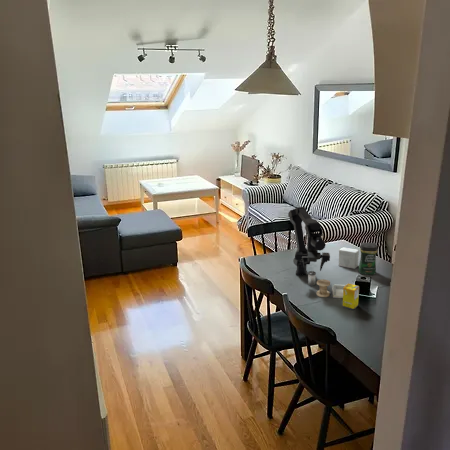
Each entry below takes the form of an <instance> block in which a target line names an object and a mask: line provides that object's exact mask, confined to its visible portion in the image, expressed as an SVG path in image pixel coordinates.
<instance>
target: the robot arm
mask: <svg viewBox="0 0 450 450" xmlns="http://www.w3.org/2000/svg"><path fill="white" fill-rule="evenodd" d="M287 215H288V218H289V221H290V223H291V224H292V226H293V229H294V236H295V241H296V242H295V243H296V251H295V252H294V258H293V259H292V260H293V264H294V266H296V271H295V276H304V277H305V276H307V277H308V270H307V267H308V265H310V264H311V262H313V263H317V261H318V260H321V261H320V266H319V272H321V271H322V269H323V267H324V264H325V263H328V262H330V261H331V260H330V259H331V253H330V252H322V253H321V252H320V251H323V250H325V248H326V246H327V245H326V244H327V243H326V242H325V241H324V240H323V238H322V237H323V236H324V234H323V233H324V231H323V229H322V226H321V223H320V222H319V221H318V220H316V219H314V218H313V217H312V216H311V215H310V213H309V212H308V211H307V209H306V207H305V206H298V207H296V208H294V209H290V210H289V211H288V213H287ZM302 223H304V230H305V233H306V235H307V238H306V240H307V241H306V243H305V237H304V230H303V226H302V225H303V224H302Z"/></svg>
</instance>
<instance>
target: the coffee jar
mask: <svg viewBox="0 0 450 450" xmlns="http://www.w3.org/2000/svg"><path fill="white" fill-rule="evenodd" d="M359 252H360V260H359V263H358V273H360V274H361V275H364V276H365V275H366V276H367V275H370V276H373V275H376V272H377V263H376V262H377V261H376V258H377V257H376V256H377V253H378V245H377V243H376V242H361V244H360V248H359Z"/></svg>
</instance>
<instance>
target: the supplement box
mask: <svg viewBox="0 0 450 450" xmlns="http://www.w3.org/2000/svg"><path fill="white" fill-rule="evenodd" d="M345 285H346V286H345V287H343V298H342V308H344V309H348V310H352V311H354V310H355V309H357V307H358V306H359V296H360V294H359V293H360V286H359V285H356V284H352V283H349V282H348V283H347V284H345Z"/></svg>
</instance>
